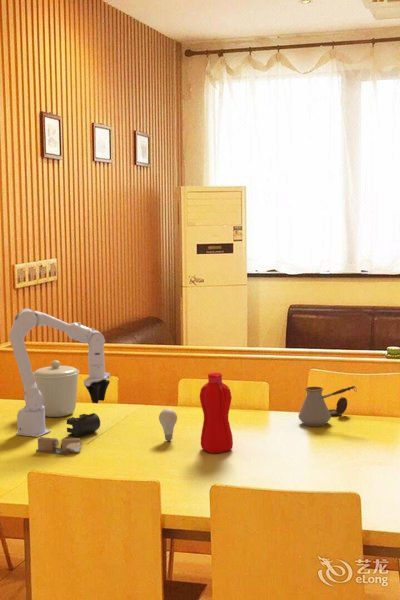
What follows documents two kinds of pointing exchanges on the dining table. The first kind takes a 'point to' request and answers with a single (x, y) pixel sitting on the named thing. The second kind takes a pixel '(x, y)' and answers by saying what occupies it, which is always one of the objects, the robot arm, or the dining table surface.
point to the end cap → (83, 425)
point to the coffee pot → (316, 406)
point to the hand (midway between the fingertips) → (98, 401)
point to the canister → (57, 388)
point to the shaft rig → (51, 444)
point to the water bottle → (216, 415)
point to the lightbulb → (168, 422)
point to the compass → (339, 407)
